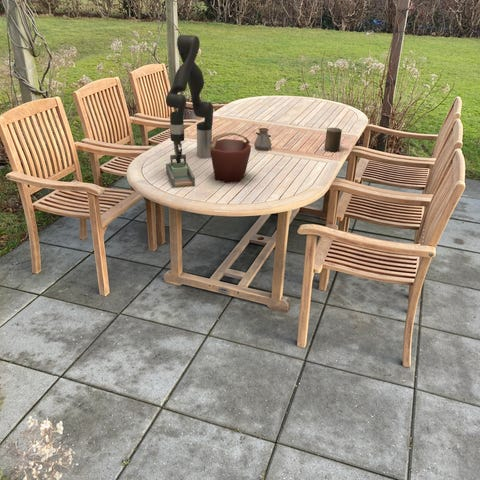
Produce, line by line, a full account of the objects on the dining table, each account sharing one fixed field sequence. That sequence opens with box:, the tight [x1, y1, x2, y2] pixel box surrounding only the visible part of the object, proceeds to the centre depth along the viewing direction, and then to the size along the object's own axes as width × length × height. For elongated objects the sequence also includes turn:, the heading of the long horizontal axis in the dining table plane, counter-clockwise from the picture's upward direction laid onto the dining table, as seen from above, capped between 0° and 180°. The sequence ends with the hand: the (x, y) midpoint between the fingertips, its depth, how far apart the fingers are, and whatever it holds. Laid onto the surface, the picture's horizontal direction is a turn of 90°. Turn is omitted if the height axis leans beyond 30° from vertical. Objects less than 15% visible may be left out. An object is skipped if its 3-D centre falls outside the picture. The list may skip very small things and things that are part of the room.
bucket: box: [209, 132, 252, 184], centre depth 277 cm, size 24×22×25 cm
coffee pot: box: [253, 127, 273, 151], centre depth 319 cm, size 21×12×15 cm, turn 159°
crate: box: [169, 154, 188, 177], centre depth 279 cm, size 8×10×11 cm
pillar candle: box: [324, 127, 342, 153], centre depth 325 cm, size 10×10×15 cm
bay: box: [165, 161, 196, 189], centre depth 277 cm, size 12×23×5 cm, turn 16°
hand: (178, 161), depth 279 cm, fingers closed on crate, 2 cm apart
